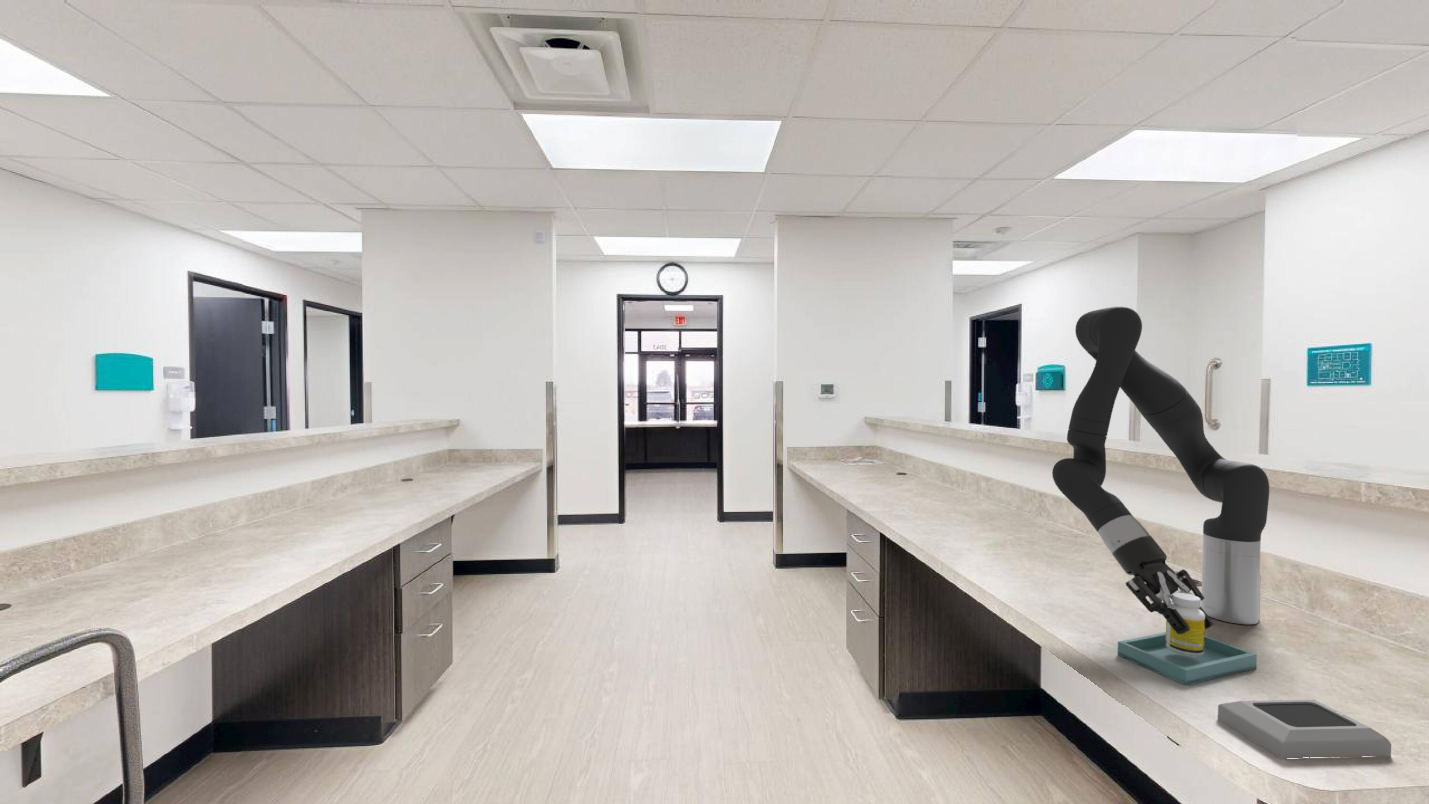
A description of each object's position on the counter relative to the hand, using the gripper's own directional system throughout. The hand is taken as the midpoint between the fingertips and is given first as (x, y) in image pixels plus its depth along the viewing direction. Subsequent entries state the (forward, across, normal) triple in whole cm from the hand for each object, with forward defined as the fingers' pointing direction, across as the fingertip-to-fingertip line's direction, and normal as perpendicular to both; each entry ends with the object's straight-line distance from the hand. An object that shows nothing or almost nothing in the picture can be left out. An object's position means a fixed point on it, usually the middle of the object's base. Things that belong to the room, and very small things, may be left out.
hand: (1196, 629), depth 103 cm
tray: (+3, 0, +6) cm, 7 cm away
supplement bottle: (+2, 0, +5) cm, 5 cm away
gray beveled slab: (+18, -9, -8) cm, 22 cm away
